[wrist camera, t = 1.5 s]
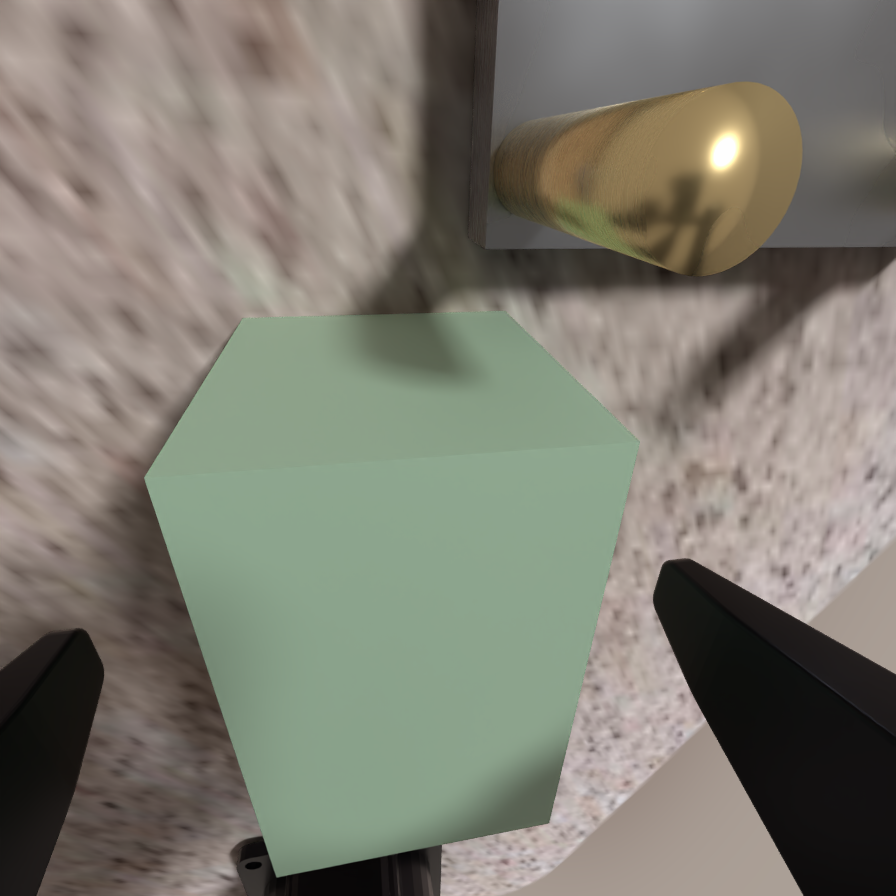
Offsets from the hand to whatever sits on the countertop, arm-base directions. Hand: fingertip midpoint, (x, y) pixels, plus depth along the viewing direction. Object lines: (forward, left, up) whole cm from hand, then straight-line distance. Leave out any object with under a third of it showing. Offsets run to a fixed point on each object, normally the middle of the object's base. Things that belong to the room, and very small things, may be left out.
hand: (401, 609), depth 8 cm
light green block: (0, 0, -3) cm, 3 cm away
